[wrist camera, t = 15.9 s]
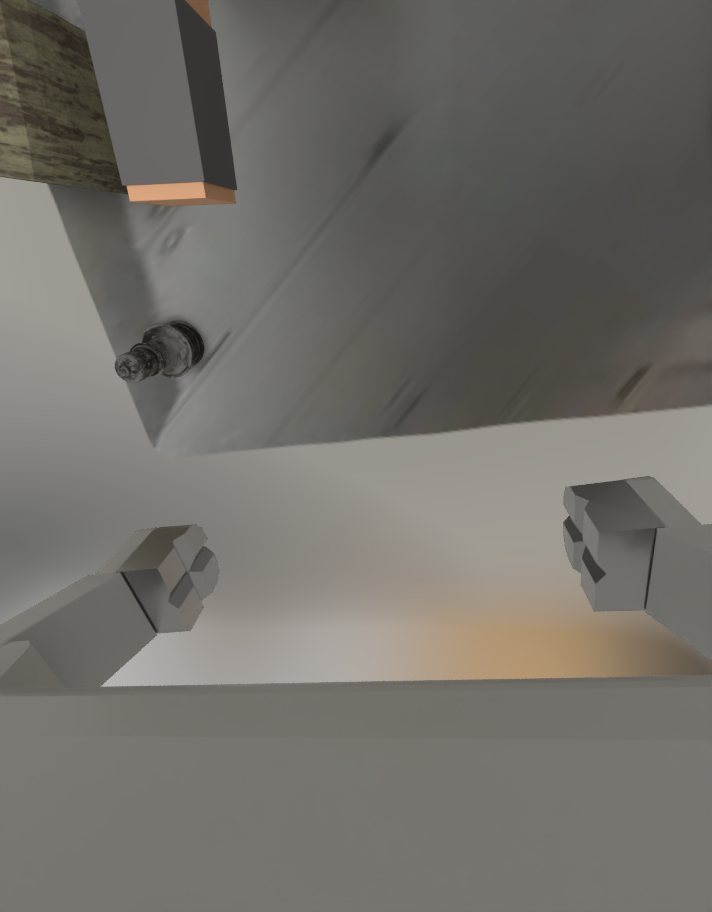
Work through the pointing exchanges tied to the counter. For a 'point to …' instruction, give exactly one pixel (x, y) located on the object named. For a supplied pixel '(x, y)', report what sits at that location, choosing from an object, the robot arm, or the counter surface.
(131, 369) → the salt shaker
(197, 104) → the pull bar
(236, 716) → the robot arm
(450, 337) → the counter surface
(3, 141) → the tabletop clock
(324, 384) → the counter surface
